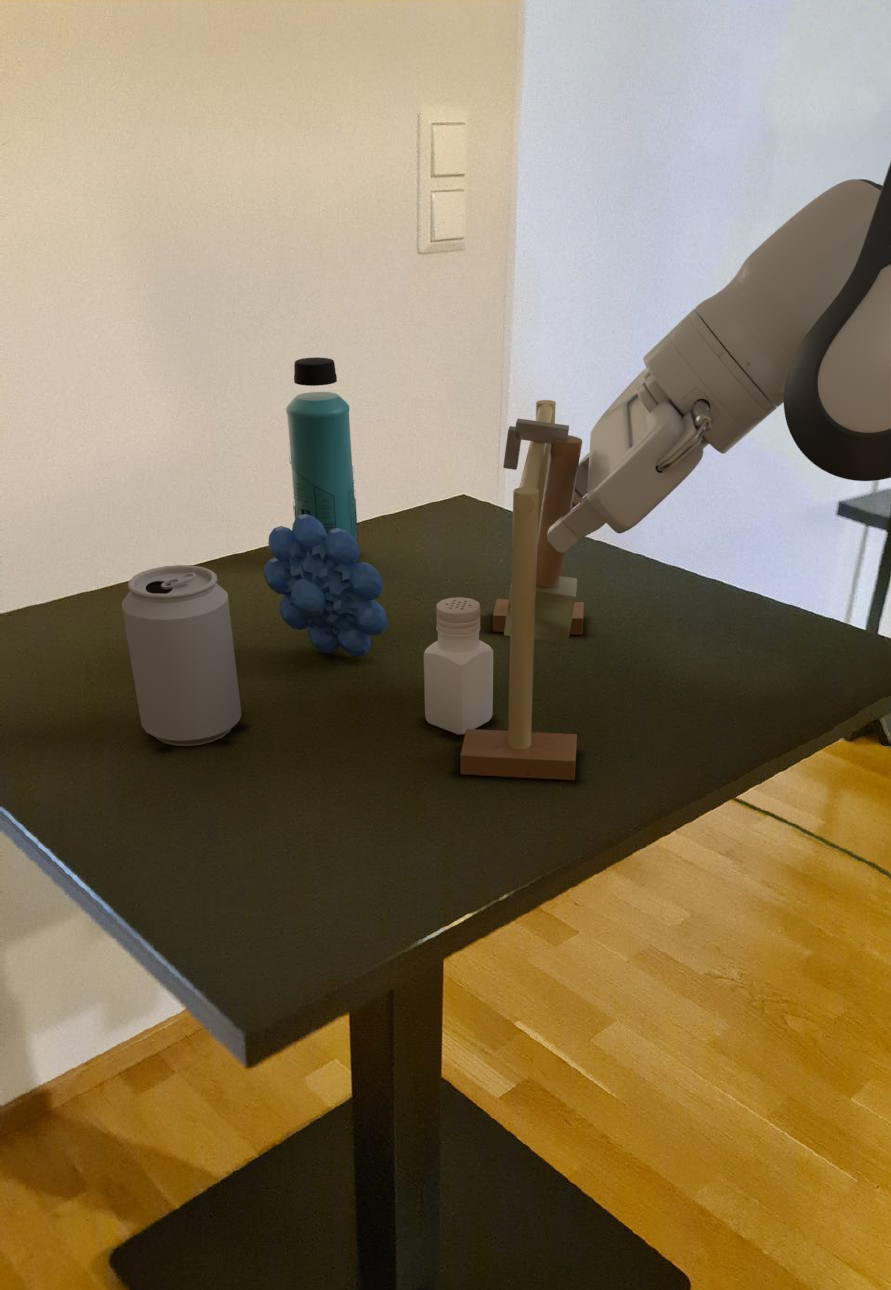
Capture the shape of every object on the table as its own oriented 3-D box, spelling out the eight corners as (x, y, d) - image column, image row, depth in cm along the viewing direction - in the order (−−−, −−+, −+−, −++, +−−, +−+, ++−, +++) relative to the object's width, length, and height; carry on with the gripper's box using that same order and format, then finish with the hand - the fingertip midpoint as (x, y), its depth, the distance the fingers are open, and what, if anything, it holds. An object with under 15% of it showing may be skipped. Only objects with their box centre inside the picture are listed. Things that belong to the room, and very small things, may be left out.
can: (136, 715, 88) (111, 567, 82) (232, 699, 90) (214, 554, 84) (150, 758, 82) (124, 602, 76) (252, 740, 84) (235, 587, 78)
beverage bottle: (371, 555, 120) (362, 356, 110) (333, 573, 115) (320, 367, 105) (322, 545, 123) (309, 350, 113) (283, 562, 118) (266, 361, 108)
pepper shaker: (462, 739, 84) (461, 619, 79) (422, 724, 86) (419, 606, 81) (495, 720, 87) (497, 603, 82) (455, 705, 89) (455, 590, 84)
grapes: (244, 660, 97) (228, 523, 91) (287, 632, 102) (275, 500, 96) (363, 684, 92) (355, 541, 86) (401, 653, 98) (396, 517, 91)
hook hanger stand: (569, 625, 91) (604, 425, 83) (567, 645, 87) (603, 438, 79) (485, 613, 91) (511, 413, 83) (480, 632, 88) (507, 425, 80)
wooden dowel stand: (583, 618, 104) (595, 397, 94) (574, 780, 79) (589, 501, 69) (496, 615, 105) (499, 396, 95) (460, 774, 79) (459, 498, 69)
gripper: (746, 460, 71) (581, 602, 77) (719, 393, 88) (586, 513, 94) (681, 385, 69) (517, 536, 75) (666, 331, 86) (534, 458, 92)
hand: (555, 523), depth 85 cm, fingers open, 8 cm apart
